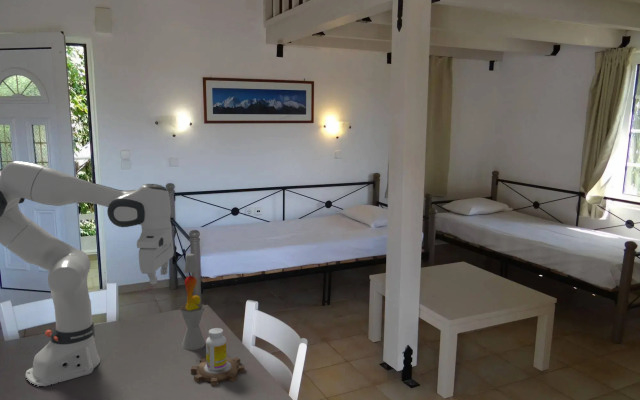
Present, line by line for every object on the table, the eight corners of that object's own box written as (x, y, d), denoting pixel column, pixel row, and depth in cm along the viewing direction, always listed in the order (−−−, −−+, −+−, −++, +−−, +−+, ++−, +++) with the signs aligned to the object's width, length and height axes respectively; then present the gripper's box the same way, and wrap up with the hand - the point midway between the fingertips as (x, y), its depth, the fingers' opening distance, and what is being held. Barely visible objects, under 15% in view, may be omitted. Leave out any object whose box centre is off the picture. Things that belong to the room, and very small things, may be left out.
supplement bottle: (230, 363, 170) (229, 328, 168) (220, 373, 163) (219, 336, 161) (213, 360, 172) (212, 325, 170) (202, 369, 166) (201, 333, 164)
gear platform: (212, 391, 156) (212, 386, 155) (180, 372, 167) (180, 367, 167) (255, 370, 169) (255, 365, 168) (223, 354, 180) (222, 349, 180)
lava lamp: (188, 352, 181) (185, 259, 175) (176, 344, 188) (173, 254, 182) (210, 344, 187) (207, 254, 182) (198, 337, 194) (195, 249, 188)
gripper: (158, 228, 165) (160, 268, 168) (134, 244, 145) (136, 289, 147) (177, 228, 165) (179, 269, 167) (155, 244, 145) (157, 289, 147)
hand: (159, 278), depth 157 cm, fingers open, 8 cm apart
